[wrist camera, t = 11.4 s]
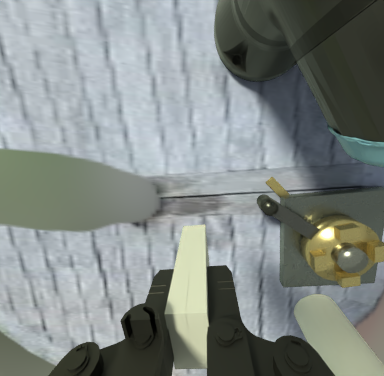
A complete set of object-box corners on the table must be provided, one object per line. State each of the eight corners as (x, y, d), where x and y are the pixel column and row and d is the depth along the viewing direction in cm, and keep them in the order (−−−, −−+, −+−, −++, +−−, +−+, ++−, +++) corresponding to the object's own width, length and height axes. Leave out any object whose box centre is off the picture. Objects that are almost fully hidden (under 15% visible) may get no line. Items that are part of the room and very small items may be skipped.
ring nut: (238, 222, 36) (244, 236, 31) (278, 169, 33) (292, 176, 28) (334, 279, 39) (355, 302, 33) (380, 235, 36) (410, 253, 30)
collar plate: (265, 177, 36) (268, 179, 34) (383, 165, 34) (394, 167, 32) (266, 281, 42) (269, 288, 40) (366, 275, 41) (374, 282, 39)
